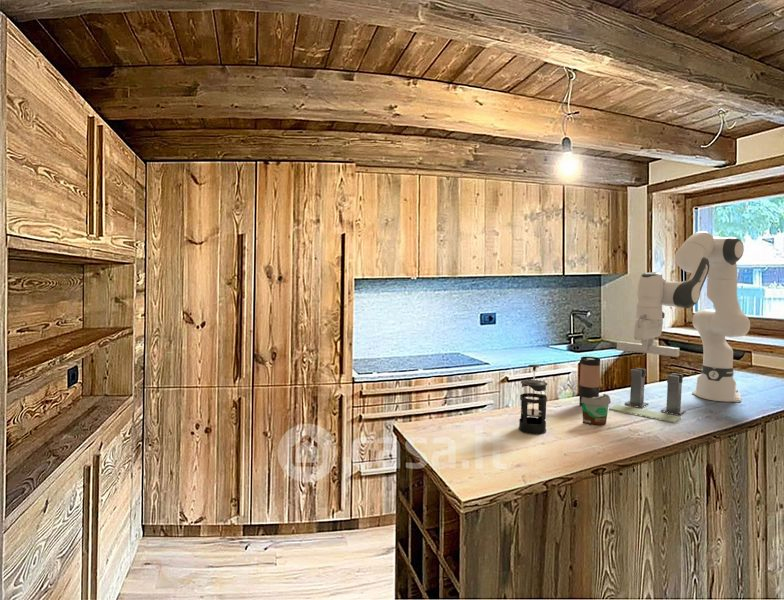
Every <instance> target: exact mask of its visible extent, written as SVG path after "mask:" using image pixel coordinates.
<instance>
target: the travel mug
mask: <svg viewBox="0 0 784 600" xmlns="http://www.w3.org/2000/svg"><path fill="white" fill-rule="evenodd" d="M579 368H580V370H579V371H580V372H579V373H580V374H579V400H578V401H579V406H580V407H581V406H582V403H581V399H582V397H586V398H590V397H600V386H601V385H600V383H601V381H600V380H601V358H600V357H596V356H582V357H580V367H579Z"/></svg>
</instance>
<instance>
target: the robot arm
mask: <svg viewBox="0 0 784 600" xmlns="http://www.w3.org/2000/svg"><path fill="white" fill-rule="evenodd" d="M744 247H745V246H744V243H743V241H742V240H741V239H740V238H738V237H734V236H728V237H723V236H713V234H711V233H710V232H707V231H700V230H699V231H697V232H694V233H693V234H691V235H690V236H689V237H688V238H686V240H685V241H684V242H683V243H682V244H681V245H680V247H679V248H678V250H676V253H675V256H674V257H675V258H674V259H675V262H676V264H677V266H678V267H679V269H681V270H682V271H684V272H686V273H688V274H689V273H690V277H688V279H687V280H684V281H671V280H668V281H667V280H665V279H664V278H663V274H662V273H661V272H659V271H658V272H657V271H652V272H645V273H642V274H641V275H640V276H639V280H638V285H637V302H636V303H637V304H636V315H635V318H636V319H637V320H636V321H635V325H634V332H633V338H634V340H635V341H636V340H637V341H640V342H641V343H640V344H642V350H644V351H647V350H648V345H654V341H655V338H658V337H661V336H662V331H663V326H664V320H663V319H665V316H666V314H665V312H664V311H663V306H667V307H677V308H683V309H691V308H692V307H694V306H696V304H697V303H698V301H699V300H700V296H701V290H702V288H703V286H704V284H705V281H706V279H707V281H706V282H707V283H706V297H707V298H708V299H709V300H710V301H711V302H712V305H713V307H714V309H710V308H708V309H707V308H706V309H701V310H697V311H696V312H695V313H694V314H693V316H692V326H693V327H694V329H695V330H696V331H697V332H698V334H699V337H700V339H701V343H702V348H703V355H702V357H703V358H702V359H703V362H702V365H701V368H700V369H701V372H700V373H701V374H700V375H698V376H697V377H696V378H697V380H696V385H695V386H696V387H695V390H694V391H691V394H692V395H694V396H696V397H698V398H701V399H703V400H704V399H705V400H708V401H709V400H710V401H715V402H726V403H727V402H728V403H729V402H735V403H737V402H738V403H739V402H742V394H741V393H740V392H738V389H736V387H737V382H736V380H735V378H734V374H735V373H734V372H735V371H734V367H733V366H734V365H733V362H734V350H733V348H732V346H731V345H729V343H728V342H727V340H726V337H727V338H739V337H744V336H746V335H747V334H748V333H749V331H750V329H751V321H750V319H749V317H748V316H747V315H746V314H745V313H744V311H743V310H742V308H741V306H740V304H739V300H738V266H737V265H738V264H737V262H739V260H740V259H741V258H742V256H744V255H743V254H744V251H745V250H744Z"/></svg>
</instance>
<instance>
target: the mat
mask: <svg viewBox="0 0 784 600" xmlns="http://www.w3.org/2000/svg"><path fill="white" fill-rule="evenodd" d="M613 410H614V411H613ZM608 411H613V412H618V411H619V412H618V413H623V412H625V413H624V414H628V413H632V414H631V415H633V414H637V415H642V416H647V417H653V418H657V419H661V420H660V421H662V420H666V421H665V422H667V421H669V422H668V423H672V422H674V423H673V424H675V423H677V422H679V421H680V420H681V419H682V417H681V416H679V415H673V414H668V413H663V412H657V411H651V410H647V409H643V408H638V407H633V406H628V405H622V404H615V405H613V406H611V407H608ZM637 415H636V416H637ZM642 416H641V417H642ZM647 417H646V418H647ZM657 419H656V420H657ZM679 419H680V420H679ZM676 421H677V422H676Z"/></svg>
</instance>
